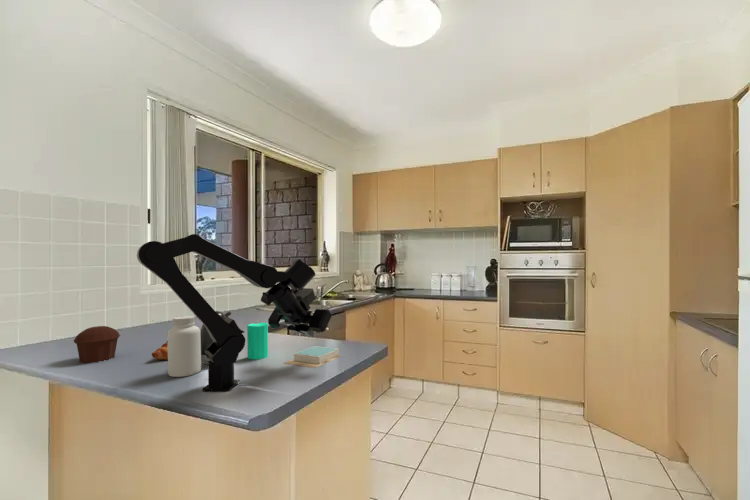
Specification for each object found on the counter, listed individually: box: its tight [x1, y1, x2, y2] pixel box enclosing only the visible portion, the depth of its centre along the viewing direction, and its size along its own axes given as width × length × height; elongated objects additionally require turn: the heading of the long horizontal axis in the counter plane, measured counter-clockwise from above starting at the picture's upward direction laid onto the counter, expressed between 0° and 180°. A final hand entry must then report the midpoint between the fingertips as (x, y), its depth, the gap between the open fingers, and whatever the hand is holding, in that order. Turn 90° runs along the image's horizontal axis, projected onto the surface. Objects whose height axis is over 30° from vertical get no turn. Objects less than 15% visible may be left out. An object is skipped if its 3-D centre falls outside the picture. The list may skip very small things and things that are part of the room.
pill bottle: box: [166, 315, 202, 378], centre depth 101 cm, size 8×8×15 cm
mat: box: [283, 354, 343, 369], centre depth 111 cm, size 14×11×1 cm
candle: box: [246, 318, 269, 360], centre depth 115 cm, size 6×6×12 cm
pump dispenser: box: [200, 310, 232, 366], centre depth 111 cm, size 10×10×15 cm
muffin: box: [73, 325, 121, 364], centre depth 118 cm, size 12×11×10 cm
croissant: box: [151, 340, 168, 361], centre depth 122 cm, size 21×10×8 cm, turn 157°
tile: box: [293, 345, 340, 364], centre depth 112 cm, size 2×9×10 cm
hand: (312, 335), depth 110 cm, fingers closed
